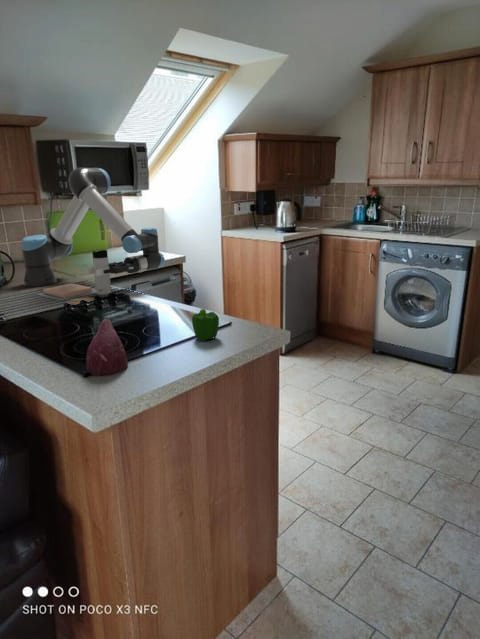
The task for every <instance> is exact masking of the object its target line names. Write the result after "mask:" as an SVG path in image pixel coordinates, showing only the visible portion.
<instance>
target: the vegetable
mask: <svg viewBox="0 0 480 639" xmlns="http://www.w3.org/2000/svg"><path fill="white" fill-rule="evenodd" d="M126 353H127V352H126V350H125V347H124V345H123V343H122V341H121V339H120V337H119V336H118V334H117V331H116V330H115V328H114V326H113V324H112V322H111V320H110V318H108V316H105V317H104V319H103V320H102V321H101V322H100V324H99V327H98V329H97V332H96V333H95V334H94V337H93V338H92V339H91V342H90V344H89V345H88V348H87V352H86V358H85V362H86V363H85V366H86V371H88V372H90V373H91V374H92V376H95V377H104V376H111V375H114V374H118V373H121V372H123V371H126V370H127V369H128V368H129V365H128V358H127V354H126ZM88 372H87V373H88ZM91 374H90V375H91Z"/></svg>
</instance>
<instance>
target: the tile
mask: <svg viewBox="0 0 480 639" xmlns="http://www.w3.org/2000/svg"><path fill="white" fill-rule="evenodd" d="M91 288H92V287H91V286H90V287H89V286H85V285H80V284H77V283H72V282H71V283H66V284H62V285H56V286H52V287H47V288H43V293H45V294H49V295H53V296H57V297H61V298H66V297H71V296H76V295H80V294H85V293H90V292H92V289H91Z"/></svg>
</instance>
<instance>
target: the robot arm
mask: <svg viewBox="0 0 480 639" xmlns="http://www.w3.org/2000/svg"><path fill="white" fill-rule="evenodd" d="M67 181H68V185H69V188H70V191H71V192H72V193H73V194H74V195H73V197H72V199H71V201H69V204H68V206H67V208H66V209H65V211H64V212H63V215H62V216H61V218H60V220H59V221H58V224H57V225H56V227H53V228H51V229H50V231H49V233H48V234H47V235H45V234H33V235H28V236H25V237H24V238H22V240H21V242H20V243H21V250H22V256H23V257H22V258H23V262H24V270H25V271H24V275H23V282H22V283H23V286H24V287H29V288H36V287H38V288H39V287H45V286H47V287H48V286H51V285H56V283H57V281H58V280H57V277H56V275H55V273H54V271H53V269H52V266H51V261H52V260H53V261H54V260H57V259H63V258H65V257H67V256H69V255H70V254H71V253H72V251H73V247H74V246H73V242H74V239H73V236H74V234H75V233H76V230H77V228H78V227H79V225H80V224H81V223H82V220H83V218H84V217H85V216H86V214H87V213H88V211H89V209H90V210H92V212H93V213H94V214H95V215H97V217H98V218H99V219H100V220H101V221H102V222H103V223H104V224H105V226H107V227H108V228H109V229H110V230H111V231H112V233H113V234H114V235H116V237H117V238H118V239H119V240H120V241H121V245H122V249H123V250H124V251H125V252H126V253H128V254H136V253H140V252H142V254H138V255H133V256H127V257H125V258H124V260H123V261H118V262H116V261H113V262H108V263H109V267H108V268H102V269H96V270H95V272H96V276H101V275H106V274H110V275H111V274H112V275H113V274H114V275H118V274H121V273H126V272H127V273H128V274H134V273H140V274H141V273H143V272H145V271H149V270H150V271H152V270H157V269H160V268H162V267H163V266H164V265H165V263H166V262H165V261H166V259H165V257H164V254H163V253H162V252H160V249H159V235H158V229H157V228H156V227H142V228H141V229H140V233H137V231H136V230H135V229H134V228H133V227H132V226H131V225H130V224H129V222H127V221H126V220H125V219H124V217H122V216H121V214H119V212H118V211H117V210H116V209H115V208H114V207H113V206H112V205H111V204H110V203H109V202H108V200H106V199H105V197H104V196H103V195H104V194H106V193H108V192H109V191H110V188H111V184H112V183H111V178H110V175H109V174H108V172H107V171H106V170H104V169H103V168H99V167H76V168H74V169H73V170H72V171H71V172H70V174H69V176H68V180H67ZM102 194H103V195H102ZM85 273H86V275H92V274H95V273H94V266H90V267H86V268H85Z"/></svg>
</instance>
